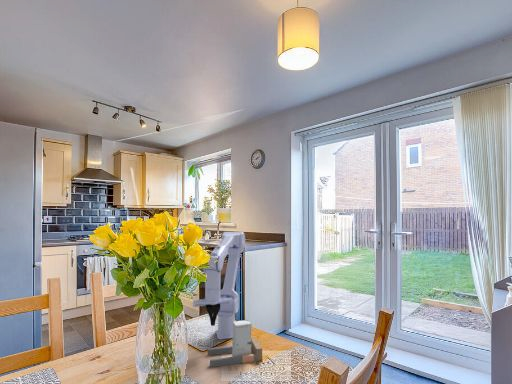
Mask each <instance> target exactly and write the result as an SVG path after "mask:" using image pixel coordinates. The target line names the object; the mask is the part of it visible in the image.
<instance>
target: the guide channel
mask: <svg viewBox="0 0 512 384" xmlns="http://www.w3.org/2000/svg"><path fill="white" fill-rule="evenodd" d="M223 354H225V355H226V354H232V345H227V346H219V347H218V346H217V347H211V348H207V356H214V355H223ZM260 361H263V347H262V346H261V343H260V342H259V341H258V339H257V337H251V354H250V355H242V356H225V357H218V358H210V359H209V367H210V368H212V367H219V366H228V365H236V364H243V363H253V362H260Z"/></svg>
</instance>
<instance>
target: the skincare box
mask: <svg viewBox="0 0 512 384" xmlns="http://www.w3.org/2000/svg"><path fill="white" fill-rule="evenodd" d="M251 338H252V323H251V321H250V320H248V319H246V320H238V321H236V320H235V322H233V336H232V338H231V339H232V340H231V341H232V345H231V346H232V353H231V355H232V356H231V357H233V356H242V355H250V354H252V351H251Z"/></svg>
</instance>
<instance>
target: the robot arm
mask: <svg viewBox="0 0 512 384" xmlns="http://www.w3.org/2000/svg"><path fill="white" fill-rule="evenodd" d="M221 234H222V235H221V243H219V244H218V245H216V246H215V247H214V248H213V250H212V251H211V253H210V254H209V255H211V259H210V261H209V262H208V264H207V265H212V266H211V267H208V268H203V267H202V269H203V274H204V273H206V274H207V281H206V282H205V281H204V287H205V288H204V290H205V291H204V293H205V294H204V296H205V297H204V298H203V299H193V300H192V307H193V308H196V307H205V309H206V312H207V314H208V317H209V321H210V326H211V327H213V326H214V327H215V325H216V321H217V329H215V334H216V337H217V340H227V339H232V336H233V322H235V321H236V314H237V313H238V312H239V309H240V295H239V293H238V292H237V291H236V290H235V286H236V282H237V275H238V274H237V273H238V266H239V262H240V260H239V259H240V256H241V254H242V253H243V252H244V250H245V246H246V235H245V233H244V231H224V232H222V233H221ZM227 256H228V260H227V264H226V269H225V276H224V281H223V287H222V289H221V271H222V270H223V267H224V263H225V262H224V260H225V259H226V257H227ZM215 260H219V261H218V262H216V263H214V261H215Z"/></svg>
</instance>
